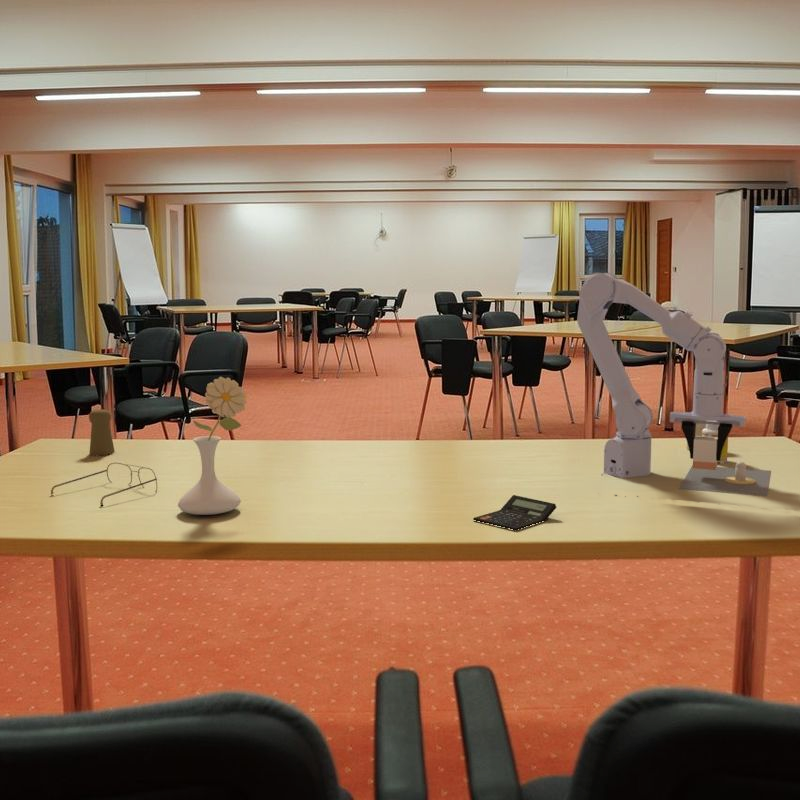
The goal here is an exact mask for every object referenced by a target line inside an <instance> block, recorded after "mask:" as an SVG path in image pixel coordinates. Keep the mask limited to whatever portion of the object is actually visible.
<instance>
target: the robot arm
mask: <svg viewBox="0 0 800 800" xmlns="http://www.w3.org/2000/svg"><path fill="white" fill-rule="evenodd" d="M578 292H579V294H578V295H579V303H578V310H577V317H576V320H577V321H576V322H577V325H578V328H579V329H580V331H581V334H582V336H583V339H584V340H585V342H586V345H587V347H588V349H589V351H590V354H591V355H592V358H593V360H594V361H595V364H596V366H597V369H598V371H599V373H600V375H601V377H602V379H603V382H604V383H605V387H606V389H607V390H608V391H607V392H609V396H610V397H611V403H612V404H611V405H612V410H613V412H614V414H615V427H616V429H617V431H616V432H615V433H616V436H615V437H614V438H613V437H612V438H611V439H609V440H607V441H606V442H605V445H604V449H603V450H604V451H603V453H604V454H603V473H601V474H600V475H601V476H602V477H603V476H604V475H605V474H606V475H609V476H614V477H617V478H621V479H629V478H633V477H634V478H635V477H646V476H650V475H651V471H652V470H651V468H652V467H651V466H652V463H651V462H652V437H653V436H652V435H653V434H652V433H651V432H650V430H649V426H651V424H652V422H653V418H654V416H653V412H652V409H651V407H650V406H648V404H646V403H645V402H644V401H643V400H642V398H641V395H640V394H639V393H638V392H637V390H636V389H635V387H634V386H633V384H632V381H631V380H630V377H629V375H628V373H627V370H626V369H625V365H623V362H622V360H621V358H620V355H619V354H618V351H617V349H616V346H615V345H614V342H613V340H612V338H611V335H610V333H609V331H608V330H607V328H606V325H605V322H604V319H605V317H606V316H607V315H606V314H607V312H608V311H609V307H610V306H612V304H613V303H616V304H626V305H629V306H631V307H633V308H634V309H636V310H637V311H639V312H640V313H642V314H644V316H647V317H648V318H650V319H651V320H653V321H655V322H657V323H658V324H659V325H660V326H661V331H662V334H663V335H664V336H666V337H667V338H669V339H670V340H671V341H673V342H674V343H676V344H677V345H679V346H680V347H682V348H683V349H685V350H686V351H688V352H693V355H694V358H695V369H694V373H693V374H694V375H693V376H694V377H693V394H692V395H693V396H692V397H693V398H692V399H693V400H692V401H693V402H692V411H693V412H692V411H690V412H689V411H687V412H686V411H684V412H676V411H670V413H669V423H674V424H675V423H681V426H680V428H681V431H682V433H683V435H684V437H685V440H686V444H687V443H688V446H689V450H688V451H689V459H691V460H693V448H694V438H695V431H696V423H699V424H716V425H719V427H718V446H717V454H716V460H717V461H720V459H721V453H722V449H723V446H724V443H725V441H726V438H727V436H728V437H729V434H730V433H731V431H732V429H733V426H735V427H736V426H738V427H742V428H744V427H746V416H745V415H739V414H728V413H723V409H724V408H723V405H724V383H725V381H724V380H725V370H724V366H725V361H724V356H725V353H726V351H727V345H726V344H727V343H726V342H725V339H724V338H723V337H721V336H720V334H719V333H717V332H711V331H712V328H710V327H709V326H706V327H705V326H703V325H702V324H701V323H699V322H697V321H696V320H695V319H693V318H692V314H691V313H690V312H688V311H685V313H684V312H682V311H681V310H677V311H670V310H668V309H667V308H666V307H664V306H663V305H661V304H660V303H659V302H658V301H656V300H654V299H653V298H652V297H651V296H649V295H648V294H647V293H645V292H643V291H642V290H641V289H640V288H638V286H636V285H634V284H632V283H630V282H628V281H626V280H625V279H622V278H619V277H618V276H616V274H613V273H610V272H604V273H603V272H594V273H592V274H590V275H589V276H587V277H586V279H585V280H584V282H583V284H582V286H581V288H580V290H579V291H578ZM696 420H704V421H696ZM713 421H717V422H713Z"/></svg>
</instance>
